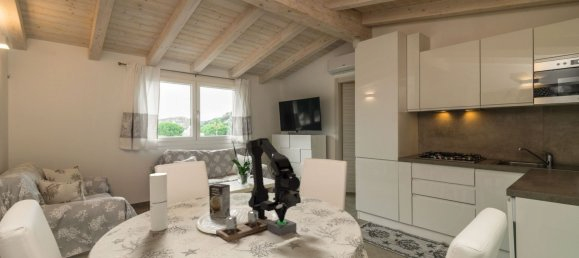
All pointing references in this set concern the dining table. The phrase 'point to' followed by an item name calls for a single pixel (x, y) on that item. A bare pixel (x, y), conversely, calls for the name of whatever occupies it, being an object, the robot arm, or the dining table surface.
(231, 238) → the brown wooden pocket tray
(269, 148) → the robot arm
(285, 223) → the button
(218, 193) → the coffee box
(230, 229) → the billet seated
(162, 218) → the cylindrical container
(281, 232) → the button housing
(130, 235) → the dining table surface
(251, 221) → the billet loose
